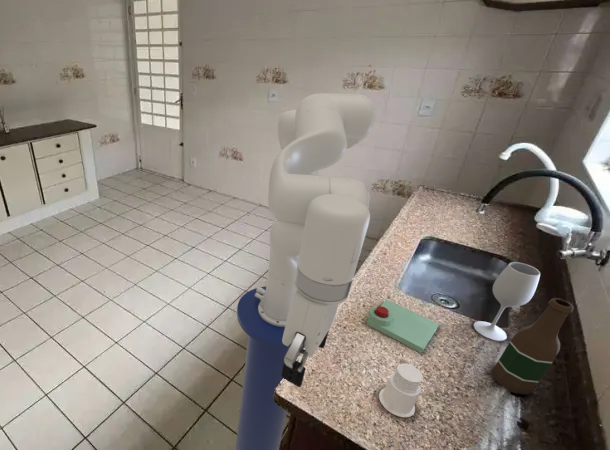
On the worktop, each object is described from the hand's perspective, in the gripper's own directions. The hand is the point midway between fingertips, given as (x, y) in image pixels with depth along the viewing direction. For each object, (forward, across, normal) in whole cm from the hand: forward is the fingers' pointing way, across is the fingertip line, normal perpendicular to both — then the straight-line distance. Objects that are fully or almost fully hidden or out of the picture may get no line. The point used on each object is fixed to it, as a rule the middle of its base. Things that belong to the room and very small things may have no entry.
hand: (303, 361), depth 58 cm
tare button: (+21, -48, +6) cm, 53 cm away
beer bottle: (+24, -47, +35) cm, 64 cm away
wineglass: (+25, -64, +31) cm, 75 cm away
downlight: (+24, -24, +15) cm, 37 cm away
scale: (+24, -51, +11) cm, 57 cm away
